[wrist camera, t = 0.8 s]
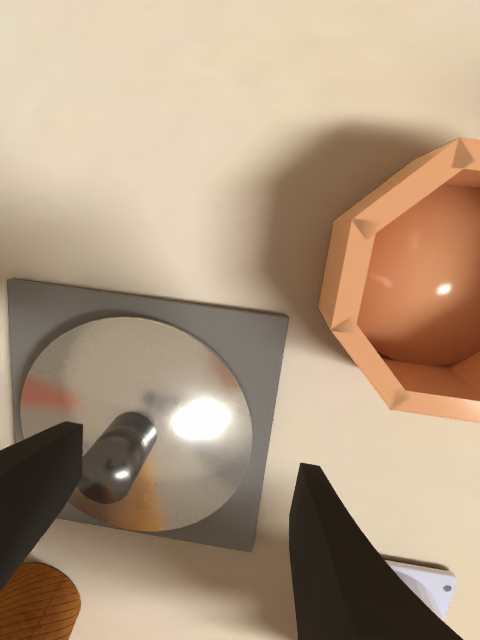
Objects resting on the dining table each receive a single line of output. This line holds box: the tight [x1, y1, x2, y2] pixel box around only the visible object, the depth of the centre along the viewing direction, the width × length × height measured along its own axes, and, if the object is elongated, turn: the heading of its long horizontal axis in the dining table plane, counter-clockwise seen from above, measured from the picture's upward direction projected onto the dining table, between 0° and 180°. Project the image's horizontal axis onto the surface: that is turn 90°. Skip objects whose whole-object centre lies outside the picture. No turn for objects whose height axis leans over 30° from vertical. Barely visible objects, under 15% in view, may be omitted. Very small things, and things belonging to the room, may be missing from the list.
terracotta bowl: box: [318, 138, 480, 423], centre depth 16 cm, size 11×11×4 cm
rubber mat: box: [7, 279, 289, 552], centre depth 22 cm, size 16×16×1 cm
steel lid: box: [20, 315, 253, 531], centre depth 20 cm, size 14×14×5 cm
